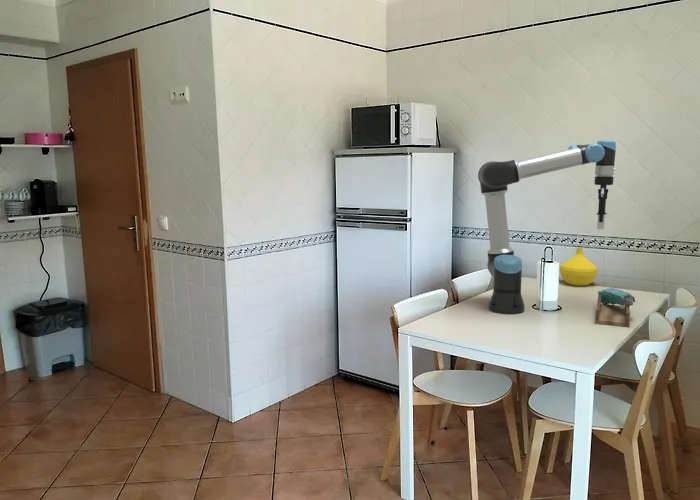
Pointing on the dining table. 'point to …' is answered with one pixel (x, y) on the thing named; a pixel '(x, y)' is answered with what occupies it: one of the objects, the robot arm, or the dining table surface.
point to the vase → (578, 270)
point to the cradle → (612, 314)
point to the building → (616, 297)
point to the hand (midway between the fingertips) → (600, 229)
